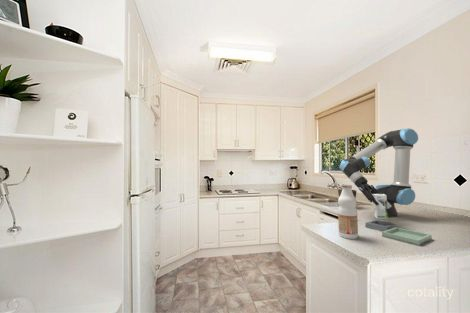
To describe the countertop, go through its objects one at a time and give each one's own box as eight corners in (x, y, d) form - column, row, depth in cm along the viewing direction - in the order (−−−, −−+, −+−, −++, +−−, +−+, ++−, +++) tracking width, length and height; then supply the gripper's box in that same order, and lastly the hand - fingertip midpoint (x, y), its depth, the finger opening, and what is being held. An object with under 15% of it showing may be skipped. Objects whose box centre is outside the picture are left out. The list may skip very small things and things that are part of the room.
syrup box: (376, 218, 131) (375, 194, 131) (374, 216, 136) (373, 193, 137) (387, 219, 129) (386, 195, 129) (384, 216, 134) (383, 193, 135)
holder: (375, 224, 140) (375, 219, 141) (397, 229, 130) (396, 224, 130) (365, 227, 134) (365, 222, 134) (387, 232, 124) (386, 227, 124)
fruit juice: (337, 237, 117) (336, 185, 118) (339, 232, 125) (338, 184, 126) (357, 240, 112) (355, 186, 113) (358, 235, 120) (357, 184, 121)
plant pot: (355, 207, 196) (355, 189, 197) (358, 210, 183) (358, 191, 183) (337, 206, 202) (337, 189, 202) (339, 209, 188) (338, 190, 188)
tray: (396, 231, 125) (395, 227, 125) (431, 239, 112) (431, 234, 112) (382, 236, 117) (382, 231, 117) (418, 245, 103) (418, 240, 104)
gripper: (363, 182, 152) (390, 209, 137) (346, 184, 141) (373, 214, 127) (370, 175, 147) (399, 202, 133) (353, 176, 137) (382, 206, 122)
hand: (386, 208), depth 130 cm, fingers closed on syrup box, 8 cm apart
